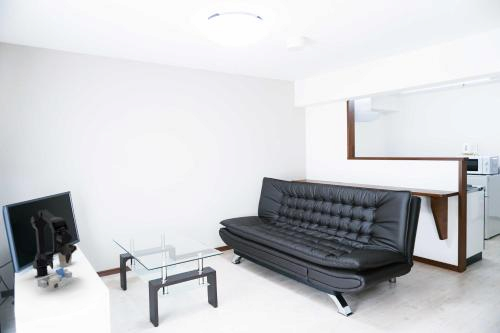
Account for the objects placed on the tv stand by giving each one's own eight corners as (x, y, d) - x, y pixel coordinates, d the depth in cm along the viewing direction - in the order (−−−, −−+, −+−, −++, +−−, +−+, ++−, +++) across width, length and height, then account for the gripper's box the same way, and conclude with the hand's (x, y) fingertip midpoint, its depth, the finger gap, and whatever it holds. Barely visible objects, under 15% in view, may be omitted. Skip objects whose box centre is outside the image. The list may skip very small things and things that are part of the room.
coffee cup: (75, 262, 236) (74, 242, 235) (69, 267, 227) (67, 246, 226) (62, 263, 236) (61, 242, 234) (55, 268, 227) (54, 246, 225)
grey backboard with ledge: (37, 287, 198) (37, 276, 197) (66, 276, 213) (65, 266, 213) (51, 292, 191) (51, 281, 191) (80, 280, 206) (79, 270, 206)
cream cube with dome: (44, 285, 198) (44, 278, 198) (51, 283, 201) (50, 275, 201) (54, 288, 194) (53, 281, 193) (60, 286, 197) (60, 278, 197)
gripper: (51, 247, 184) (52, 274, 186) (82, 237, 200) (83, 263, 202) (39, 244, 189) (40, 270, 191) (70, 235, 205) (71, 259, 207)
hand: (60, 266), depth 197 cm, fingers open, 9 cm apart
